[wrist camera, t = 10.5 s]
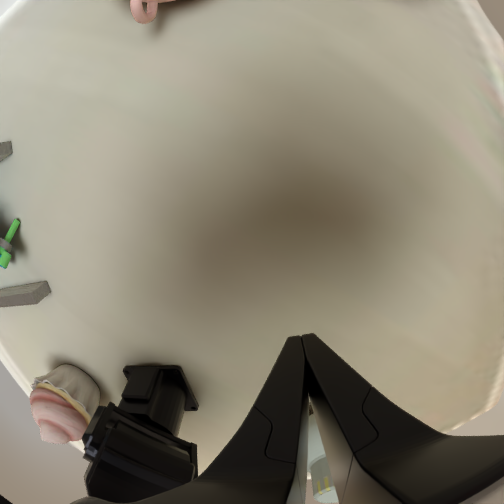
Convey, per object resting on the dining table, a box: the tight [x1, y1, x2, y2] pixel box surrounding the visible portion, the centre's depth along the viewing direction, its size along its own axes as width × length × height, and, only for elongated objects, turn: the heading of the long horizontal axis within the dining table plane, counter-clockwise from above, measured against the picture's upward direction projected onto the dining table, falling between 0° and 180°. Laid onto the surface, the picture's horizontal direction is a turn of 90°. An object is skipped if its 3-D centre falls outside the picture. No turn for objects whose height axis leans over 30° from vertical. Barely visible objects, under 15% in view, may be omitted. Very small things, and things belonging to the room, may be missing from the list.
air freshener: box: [307, 414, 339, 503], centre depth 23 cm, size 11×8×10 cm
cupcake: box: [30, 364, 100, 444], centre depth 22 cm, size 9×9×10 cm
